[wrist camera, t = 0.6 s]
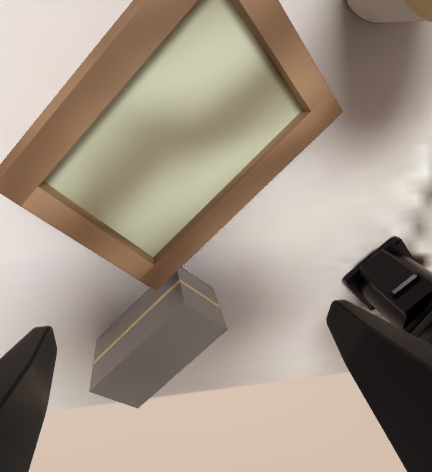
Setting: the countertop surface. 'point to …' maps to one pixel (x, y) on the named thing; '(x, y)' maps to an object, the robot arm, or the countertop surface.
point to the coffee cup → (392, 10)
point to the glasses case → (156, 339)
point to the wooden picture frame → (170, 130)
